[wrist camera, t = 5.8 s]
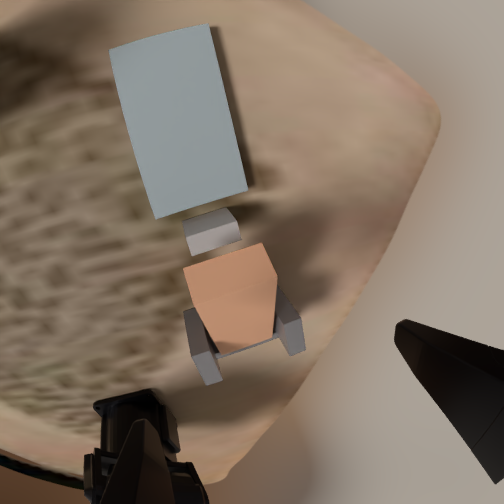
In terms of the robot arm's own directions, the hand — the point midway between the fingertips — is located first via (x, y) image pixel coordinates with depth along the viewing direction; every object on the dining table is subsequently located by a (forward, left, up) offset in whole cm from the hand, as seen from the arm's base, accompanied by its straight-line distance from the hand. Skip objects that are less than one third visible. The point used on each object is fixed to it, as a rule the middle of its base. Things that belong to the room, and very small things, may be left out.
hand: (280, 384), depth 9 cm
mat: (0, +8, -13) cm, 15 cm away
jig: (0, -3, -13) cm, 13 cm away
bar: (0, -3, -10) cm, 10 cm away
